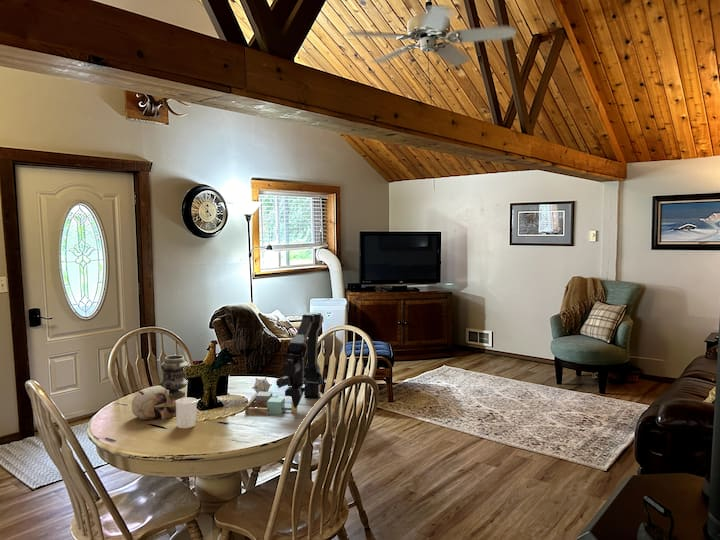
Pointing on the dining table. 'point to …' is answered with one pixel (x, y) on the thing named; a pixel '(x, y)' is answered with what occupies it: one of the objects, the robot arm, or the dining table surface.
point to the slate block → (263, 396)
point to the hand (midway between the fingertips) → (296, 406)
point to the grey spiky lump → (261, 385)
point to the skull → (153, 404)
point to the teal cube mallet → (278, 405)
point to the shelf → (260, 406)
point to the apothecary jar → (174, 375)
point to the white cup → (186, 412)
